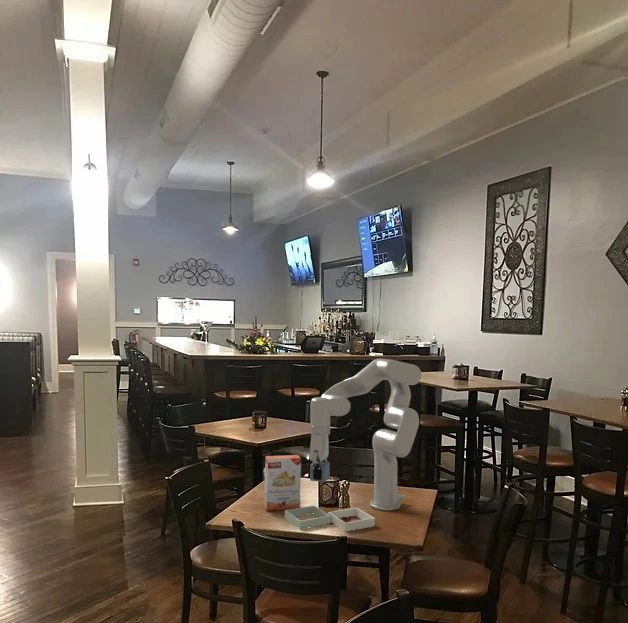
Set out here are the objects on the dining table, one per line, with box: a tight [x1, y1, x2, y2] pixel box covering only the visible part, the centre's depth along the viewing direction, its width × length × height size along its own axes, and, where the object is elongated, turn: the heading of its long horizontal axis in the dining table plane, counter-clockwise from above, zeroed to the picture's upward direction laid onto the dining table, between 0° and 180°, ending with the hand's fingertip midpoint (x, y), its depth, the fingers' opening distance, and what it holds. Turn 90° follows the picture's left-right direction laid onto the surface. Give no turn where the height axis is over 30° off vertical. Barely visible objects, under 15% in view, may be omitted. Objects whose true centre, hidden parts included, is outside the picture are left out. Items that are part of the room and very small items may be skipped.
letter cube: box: [309, 461, 331, 483], centre depth 212 cm, size 6×6×6 cm
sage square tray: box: [284, 505, 332, 530], centre depth 211 cm, size 13×13×3 cm
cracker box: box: [263, 454, 302, 512], centre depth 226 cm, size 14×6×21 cm, turn 105°
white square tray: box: [327, 507, 376, 533], centre depth 210 cm, size 13×13×3 cm
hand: (320, 476), depth 212 cm, fingers closed on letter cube, 6 cm apart
